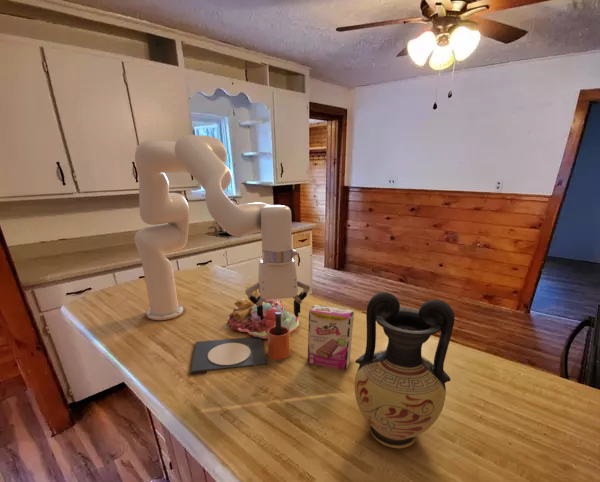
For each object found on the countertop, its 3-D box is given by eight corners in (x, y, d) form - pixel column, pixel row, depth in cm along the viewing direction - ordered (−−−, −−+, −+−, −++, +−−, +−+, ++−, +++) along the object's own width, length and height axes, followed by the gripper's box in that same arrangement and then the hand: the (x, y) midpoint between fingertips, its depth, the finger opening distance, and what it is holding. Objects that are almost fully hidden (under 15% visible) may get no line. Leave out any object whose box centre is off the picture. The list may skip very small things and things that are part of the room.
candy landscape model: (213, 327, 111) (211, 301, 108) (252, 305, 131) (252, 283, 128) (279, 343, 101) (279, 315, 98) (311, 317, 121) (311, 292, 118)
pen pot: (267, 351, 100) (266, 327, 96) (287, 349, 101) (287, 325, 98) (269, 362, 94) (268, 337, 91) (291, 360, 95) (291, 335, 92)
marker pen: (275, 352, 98) (274, 311, 93) (281, 352, 98) (280, 311, 93) (276, 355, 96) (275, 314, 91) (282, 355, 96) (281, 313, 91)
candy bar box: (306, 364, 93) (307, 310, 86) (312, 355, 97) (313, 303, 91) (346, 372, 90) (350, 317, 83) (350, 363, 94) (354, 309, 88)
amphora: (431, 411, 76) (456, 286, 64) (443, 472, 61) (478, 323, 49) (353, 399, 79) (363, 278, 68) (345, 454, 64) (357, 311, 53)
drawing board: (196, 344, 103) (195, 341, 102) (261, 338, 106) (261, 335, 106) (191, 374, 88) (190, 370, 88) (267, 366, 92) (266, 362, 92)
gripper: (307, 250, 91) (306, 308, 97) (242, 254, 88) (246, 313, 94) (313, 257, 84) (312, 319, 91) (243, 261, 81) (248, 325, 87)
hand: (278, 316), depth 92 cm, fingers open, 9 cm apart
